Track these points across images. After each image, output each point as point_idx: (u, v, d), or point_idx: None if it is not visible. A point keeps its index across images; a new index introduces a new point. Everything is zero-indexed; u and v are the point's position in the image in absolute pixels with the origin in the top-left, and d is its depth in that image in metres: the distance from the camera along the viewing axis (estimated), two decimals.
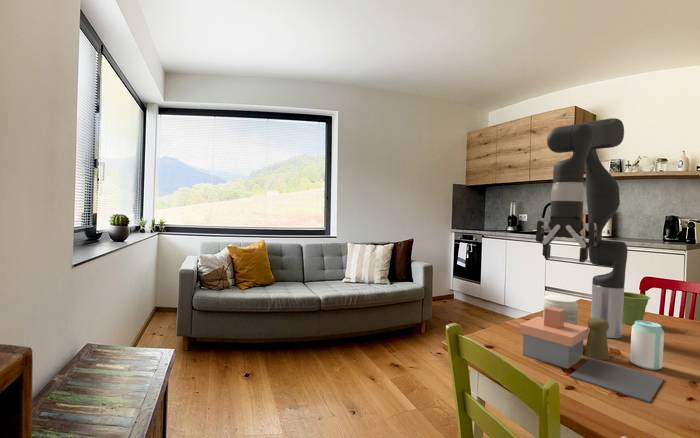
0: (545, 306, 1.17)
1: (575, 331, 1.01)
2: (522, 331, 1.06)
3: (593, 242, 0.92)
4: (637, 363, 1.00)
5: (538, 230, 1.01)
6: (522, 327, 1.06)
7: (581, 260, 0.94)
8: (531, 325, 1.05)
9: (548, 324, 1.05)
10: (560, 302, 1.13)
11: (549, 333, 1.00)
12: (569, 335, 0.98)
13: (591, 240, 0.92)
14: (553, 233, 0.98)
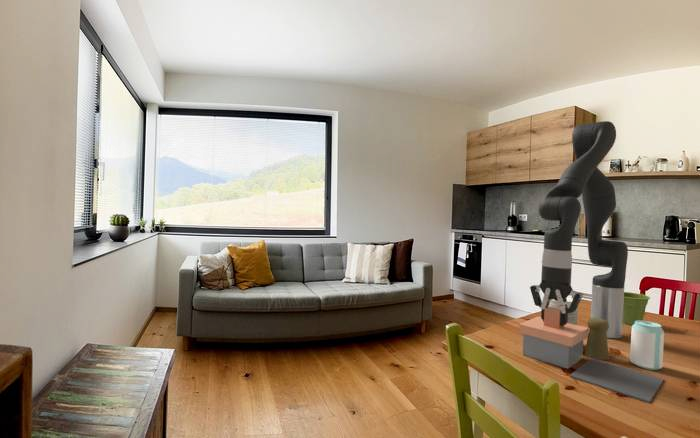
0: None
1: (575, 331, 1.01)
2: (522, 331, 1.06)
3: (572, 309, 1.01)
4: (637, 363, 1.00)
5: (533, 295, 1.09)
6: (522, 327, 1.06)
7: (561, 324, 1.03)
8: (531, 325, 1.05)
9: (548, 324, 1.05)
10: None
11: (549, 333, 1.00)
12: (569, 335, 0.98)
13: (571, 308, 1.01)
14: (547, 296, 1.06)
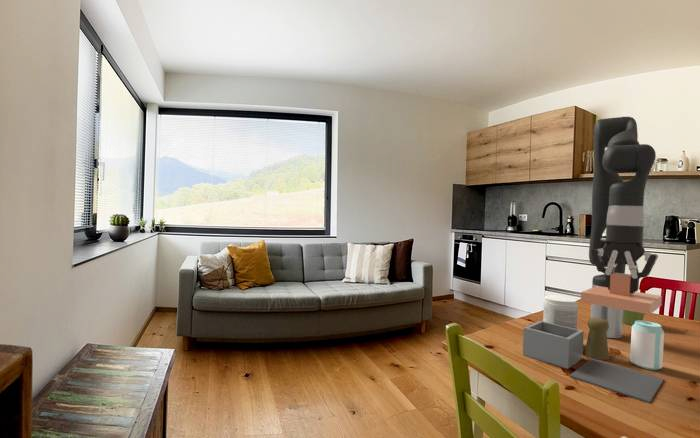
0: (545, 306, 1.17)
1: (649, 298, 0.88)
2: (585, 300, 0.92)
3: (645, 273, 0.88)
4: (637, 363, 1.00)
5: (596, 259, 0.95)
6: (585, 295, 0.92)
7: (632, 291, 0.90)
8: (595, 293, 0.92)
9: (615, 292, 0.91)
10: (560, 302, 1.13)
11: (620, 300, 0.87)
12: (645, 301, 0.84)
13: (645, 271, 0.88)
14: (613, 260, 0.92)
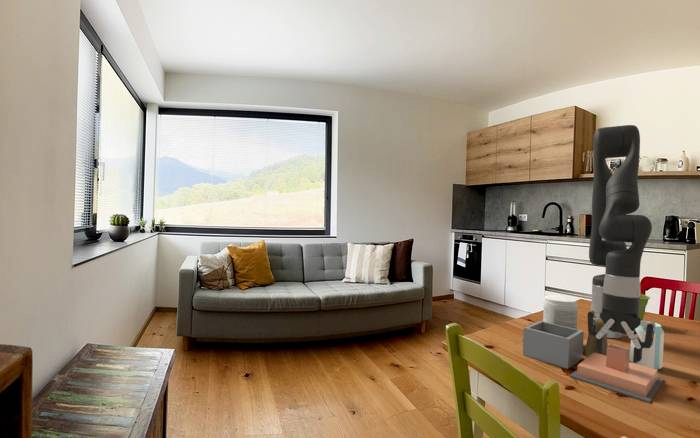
0: (545, 306, 1.17)
1: (645, 375, 0.88)
2: (581, 373, 0.92)
3: (649, 344, 0.87)
4: (637, 363, 1.00)
5: (590, 322, 0.96)
6: (581, 369, 0.93)
7: (635, 361, 0.89)
8: (592, 367, 0.92)
9: (611, 366, 0.92)
10: (560, 302, 1.13)
11: (616, 378, 0.87)
12: (641, 381, 0.85)
13: (647, 342, 0.87)
14: (607, 327, 0.93)
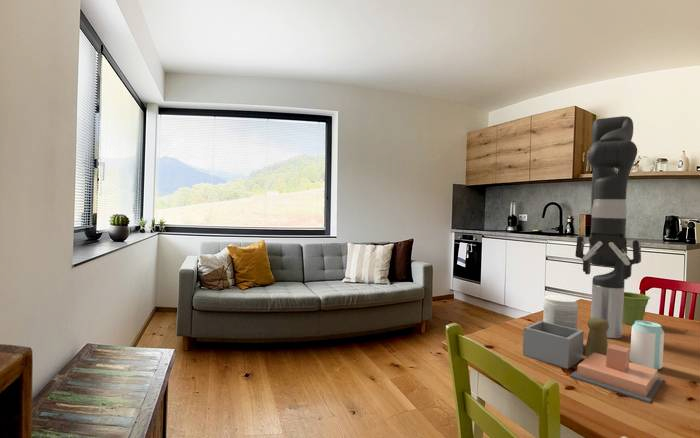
0: (545, 306, 1.17)
1: (645, 375, 0.88)
2: (581, 373, 0.92)
3: (638, 260, 0.92)
4: (637, 363, 1.00)
5: (578, 246, 1.01)
6: (581, 369, 0.93)
7: (625, 277, 0.94)
8: (592, 367, 0.92)
9: (611, 366, 0.92)
10: (560, 302, 1.13)
11: (616, 378, 0.87)
12: (641, 381, 0.85)
13: (636, 258, 0.92)
14: (595, 249, 0.98)
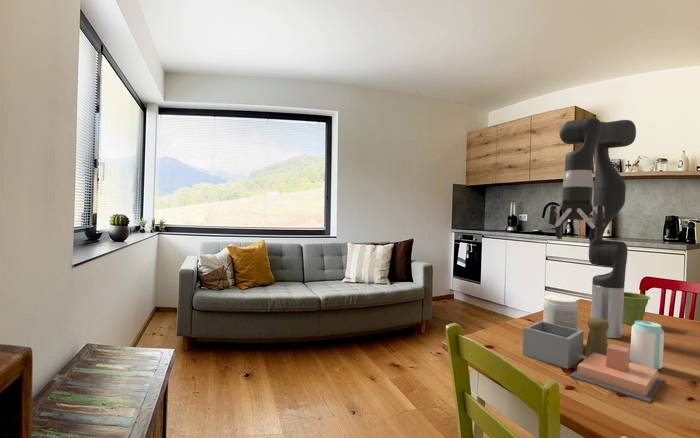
0: (545, 306, 1.17)
1: (645, 375, 0.88)
2: (581, 373, 0.92)
3: (601, 223, 1.03)
4: (637, 363, 1.00)
5: (551, 214, 1.13)
6: (581, 369, 0.93)
7: (590, 239, 1.05)
8: (592, 367, 0.92)
9: (611, 366, 0.92)
10: (560, 302, 1.13)
11: (616, 378, 0.87)
12: (641, 381, 0.85)
13: (600, 221, 1.03)
14: (565, 216, 1.10)
